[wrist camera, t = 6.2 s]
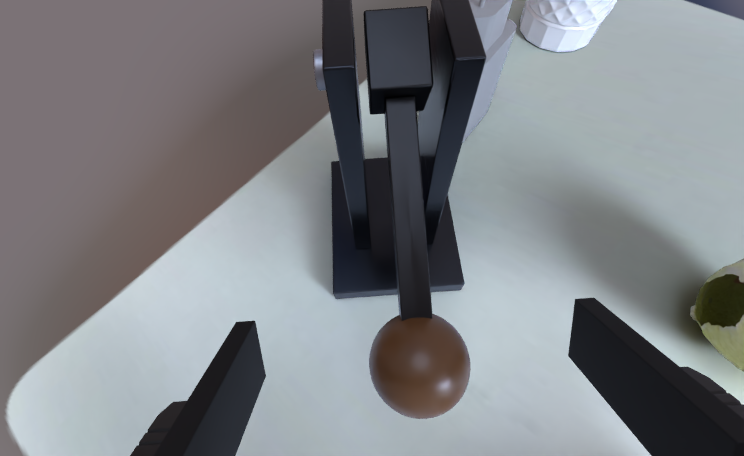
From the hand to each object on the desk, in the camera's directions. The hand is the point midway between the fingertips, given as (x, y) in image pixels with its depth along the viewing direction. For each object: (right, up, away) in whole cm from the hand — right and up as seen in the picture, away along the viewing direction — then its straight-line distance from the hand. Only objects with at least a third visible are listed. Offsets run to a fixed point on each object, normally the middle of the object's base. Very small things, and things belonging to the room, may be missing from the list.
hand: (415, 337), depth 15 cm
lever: (0, +5, 0) cm, 5 cm away
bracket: (0, +5, +10) cm, 11 cm away
